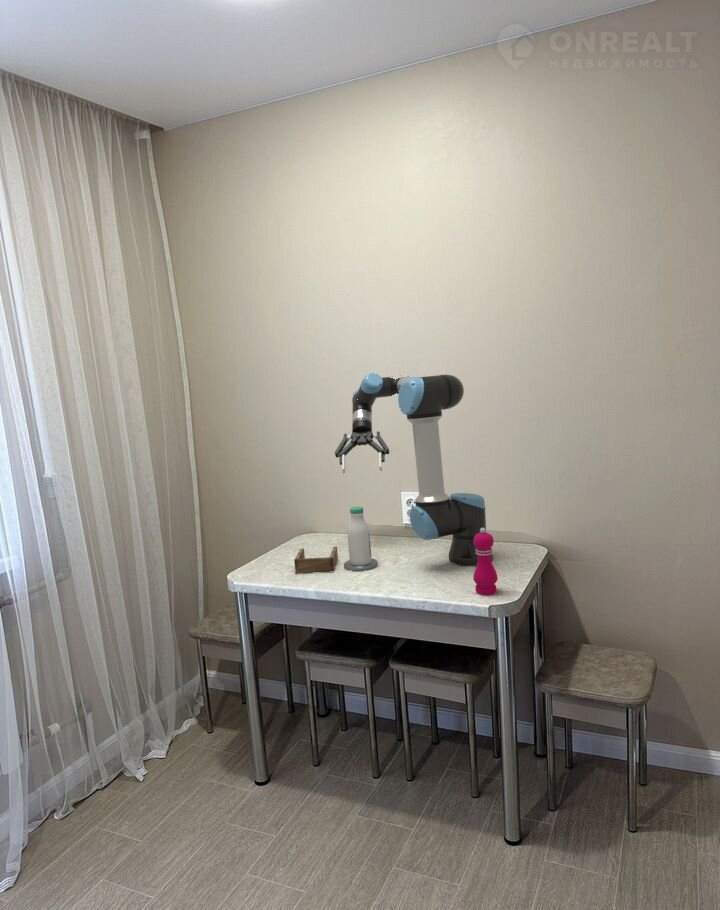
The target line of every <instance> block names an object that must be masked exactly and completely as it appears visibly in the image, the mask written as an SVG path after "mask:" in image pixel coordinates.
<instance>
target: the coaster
mask: <svg viewBox="0 0 720 910" xmlns="http://www.w3.org/2000/svg"><path fill="white" fill-rule="evenodd" d="M371 558H372V561H371V563H370V564H368V565H363V566H354V565H351V564H350V559H349V560H346V561H344V563H343V568H344V570H346V569H347V570H346V571H349V570H352V571H351V572H364V570H367V571H370V569H371V570H373V568H374V569H376V568H377V567H378V566H379V561H378V560H377V559H375V558H373V557H371ZM375 567H376V568H375Z"/></svg>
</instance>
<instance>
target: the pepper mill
mask: <svg viewBox="0 0 720 910" xmlns="http://www.w3.org/2000/svg"><path fill="white" fill-rule="evenodd" d="M480 532H481V533H478V534H476V535H475V537H474V540H473V543H474V545H475V547H476V554H477V556H478V563H477V565H476V566H475V569H474V572H473V582H474V583H475V586H474V587H475V593H476V594H477V595H482V596H491V595H494V594H495V592H496V593H497V585H496V583H497V582H498V573H497V571H496V569H495V567H494V565H493V562H492V561H493V560H492V561H491V554H493V546H494V543H495V541H494V538H493V536H492V535H491V534H490V533H489V532H487V528H486V529H485V528H481V529H480Z"/></svg>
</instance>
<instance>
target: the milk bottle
mask: <svg viewBox="0 0 720 910" xmlns="http://www.w3.org/2000/svg"><path fill="white" fill-rule="evenodd" d="M349 512H350V521H349V524H348V527H347V544H348V557H349V560H350V564H351V565H354V566H363V565H368V564H370V563H371V561H372V558H373V557H372V548H371V537H370V536H371V535H370V529H369V526H368V523H367V522H366V520H365V518H364V507H362V506H352V507H350V508H349Z"/></svg>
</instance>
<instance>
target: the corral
mask: <svg viewBox="0 0 720 910" xmlns="http://www.w3.org/2000/svg"><path fill="white" fill-rule="evenodd" d="M293 561H294V570H295V571H294V572H295V573H303V574H314V573H313V572H324V573H331V572H330V571H334V572H335V570H334V569H336V567H337V564H338V562H337V561H339V555H338V547H337V546H333V548H332V550H331V553H330V556H328V557H309V558H306V554H305V549H304V548H300V549H299V551H298V553H297V554H296V556H295V558H294V559H293ZM335 566H336V567H335Z"/></svg>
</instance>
